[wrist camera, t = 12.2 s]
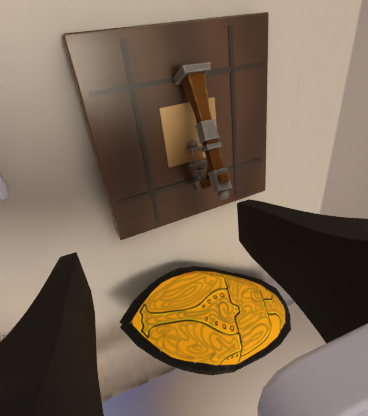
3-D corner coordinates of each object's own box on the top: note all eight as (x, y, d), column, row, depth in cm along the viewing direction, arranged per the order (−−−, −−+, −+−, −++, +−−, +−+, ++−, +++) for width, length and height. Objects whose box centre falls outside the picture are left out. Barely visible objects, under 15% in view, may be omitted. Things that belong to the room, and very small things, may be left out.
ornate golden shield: (126, 394, 18) (112, 398, 22) (323, 353, 24) (282, 362, 29) (118, 264, 22) (107, 288, 27) (286, 258, 29) (255, 279, 33)
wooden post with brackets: (190, 204, 21) (218, 203, 17) (161, 93, 20) (183, 63, 16) (211, 197, 21) (244, 195, 17) (185, 90, 21) (212, 60, 16)
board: (117, 232, 22) (121, 241, 21) (61, 36, 16) (62, 33, 14) (257, 186, 26) (266, 191, 25) (257, 14, 20) (270, 11, 18)
